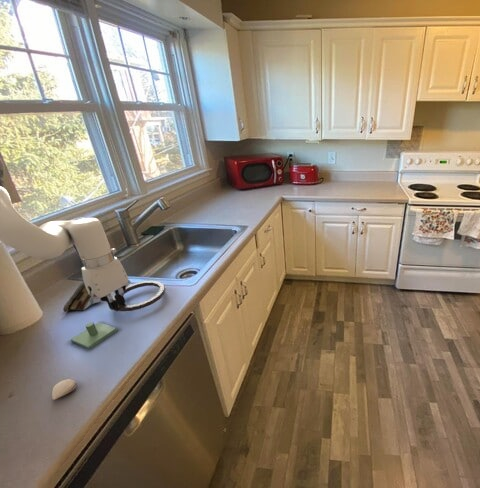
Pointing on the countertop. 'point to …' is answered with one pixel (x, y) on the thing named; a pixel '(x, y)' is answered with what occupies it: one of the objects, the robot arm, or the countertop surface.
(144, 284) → the hoop
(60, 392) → the cream half-moon wedge
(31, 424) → the countertop surface
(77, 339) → the peg stand
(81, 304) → the chocolate cake
